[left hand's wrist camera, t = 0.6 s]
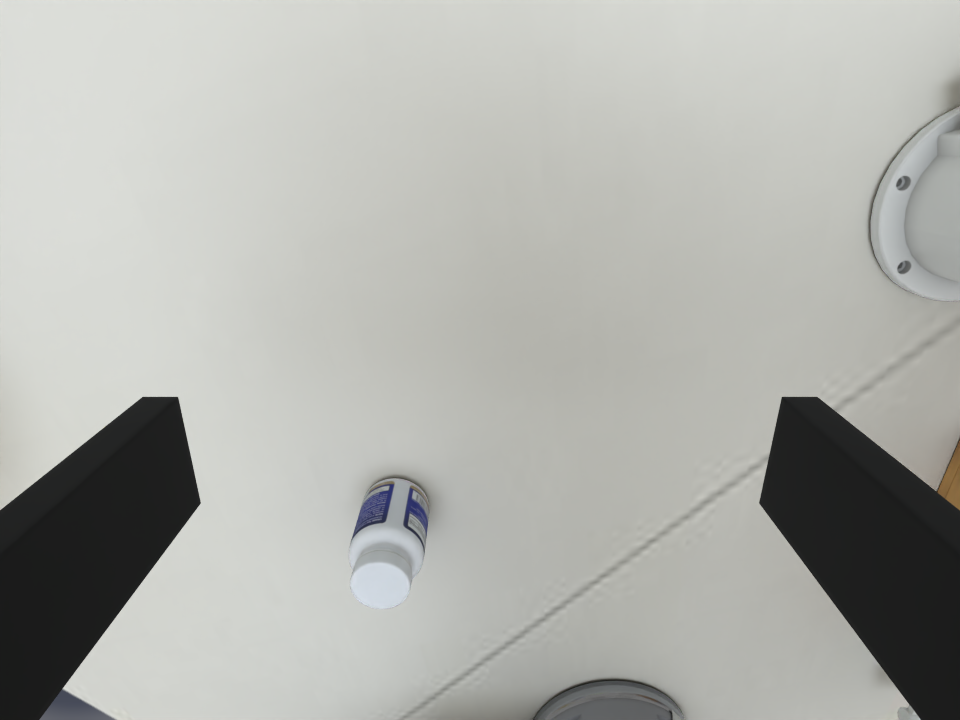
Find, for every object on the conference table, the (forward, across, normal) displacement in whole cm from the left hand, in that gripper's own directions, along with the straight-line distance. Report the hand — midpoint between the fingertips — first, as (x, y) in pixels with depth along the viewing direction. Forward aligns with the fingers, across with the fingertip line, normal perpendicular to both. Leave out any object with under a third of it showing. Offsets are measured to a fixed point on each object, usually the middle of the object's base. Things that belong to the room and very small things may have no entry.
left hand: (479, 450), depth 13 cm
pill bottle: (+28, +7, +21) cm, 35 cm away
